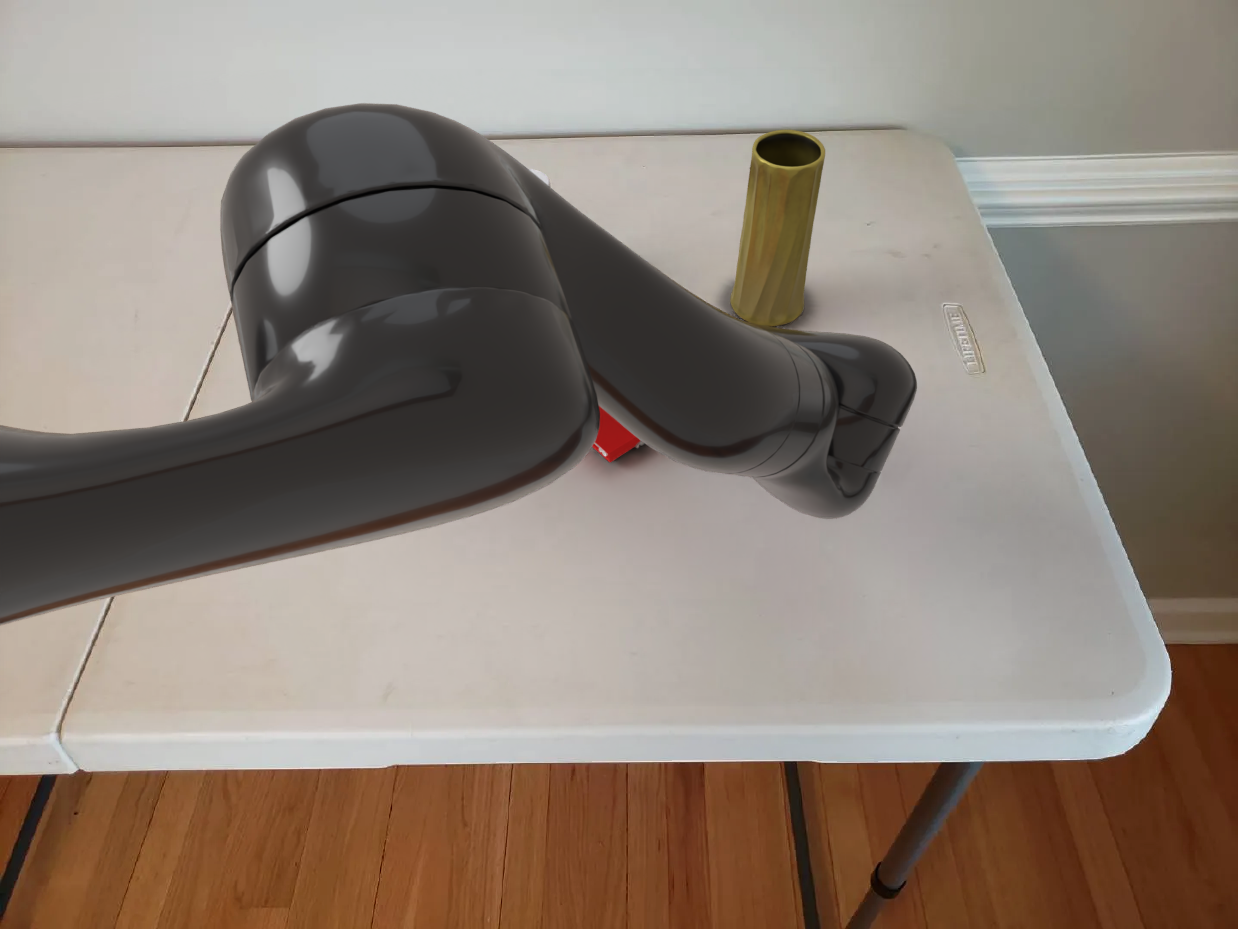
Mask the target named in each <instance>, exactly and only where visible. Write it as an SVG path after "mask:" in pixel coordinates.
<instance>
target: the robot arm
mask: <svg viewBox="0 0 1238 929" xmlns="http://www.w3.org/2000/svg"><path fill="white" fill-rule="evenodd" d="M529 169H530V168H528V167H526V166H525V165H524V164H523V163H521V162H520V161H519V160H517V159H516V158H515V157H513V156H512V155H511V154H510V153H508V152H507V151H505V150H504V149H503V148H502V147H500V146H499V145H497V144H496V143H494V142H493V141H491V140H490V139H488V138H487V137H486V136H484V135H483V134H481V133H479V132H477V131H476V130H474V129H472V128H471V127H469V126H467V125H466V124H463V123H461V122H459V121H457V120H454V119H452V118H449V117H446V116H444V115H441V114H438V113H436V112H434V111H429V110H425V109H420V108H416V107H411V106H406V105H402V104H397V103H374V102H373V103H372V102H371V103H370V102H368V103H367V102H361V103H353V104H345V105H338V106H333V107H326V108H325V107H324V108H322V109H319V110H316V111H313V112H310V113H307V114H304V115H301V116H298V117H294V119H291V120H290V121H287V122H286V123H284V124H282V125H281V126H279V127H277V128H275V129H274V130H272V131H270V132H269V133H267V134H266V135H265V136H263V137H262V138H261V139H260V140H259V141H258V142H257V143H255V144H254V145H253V146H252V147H250V149H248V150H247V151H246V152H245V153H244V154H243V155H242V156H241V157H240V158H239V160H238V161H237V162H236V164H235V166H234V167H233V169H232V170H231V172H230V175H229V176H228V179H227V182H226V185H225V188H224V191H223V194H222V197H221V199H220V210H219V212H220V218H219V220H220V221H219V222H220V224H219V226H220V227H219V228H220V229H219V230H220V241H221V242H220V245H221V254H222V255H221V256H222V260H223V261H222V262H223V269H224V274H225V280H226V286H227V290H228V295H229V299H230V303H231V309H232V310H231V311H232V315H233V319H234V325H235V329H236V334H237V339H238V343H239V348H240V353H241V359H242V363H243V368H244V372H245V378H246V381H247V388H248V391H249V392H248V393H249V397H250V400H251V402H248V403H246V404H243V405H241V406H236V407H235V408H231V409H228V410H225V411H221V412H218V413H214V414H209V415H204V416H202V417H197V418H192V419H189V420H184V421H183V420H182V421H178V422H172V423H166V424H161V425H160V424H159V425H155V426H148V427H137V428H124V429H123V428H122V429H113V430H112V429H111V430H101V431H100V430H99V431H90V432H77V433H63V432H48V431H47V432H46V431H39V430H32V429H25V428H20V427H14V426H8V425H3V424H0V627H2V626H4V625H8V624H12V623H15V622H20V621H22V620H27V619H31V618H34V617H37V616H41V615H45V614H50V613H53V612H56V611H61V610H65V609H69V608H73V607H77V606H81V605H85V604H89V603H92V602H97V601H101V600H105V599H109V598H113V597H117V596H123V595H127V594H131V593H136V592H139V591H144V590H145V591H146V590H150V589H153V588H158V587H163V586H168V585H172V584H176V583H182V582H187V581H190V580H191V581H192V580H195V579H201V578H205V577H209V576H213V575H219V574H223V573H228V572H233V571H237V570H242V569H246V568H247V569H248V568H252V567H256V566H261V565H265V564H271V563H275V562H279V561H284V560H289V559H293V558H299V557H303V556H304V557H305V556H309V555H313V554H317V553H322V552H326V551H331V550H337V549H341V548H346V547H350V546H356V545H361V544H365V543H370V542H373V541H378V540H382V539H383V540H384V539H386V538H391V537H396V536H400V535H404V534H408V533H412V532H418V531H421V530H425V529H426V530H427V529H430V528H433V527H438V526H441V525H445V524H449V523H452V522H455V521H459V520H462V519H466V518H470V517H472V516H476V515H479V514H482V513H485V512H488V511H491V510H494V509H497V508H500V507H502V506H506V505H509V504H511V503H513V502H516V501H518V500H520V499H522V498H524V497H526V496H529V495H531V494H533V493H535V492H537V491H540V490H541V489H543V488H545V487H547V486H550V485H551V484H552V483H555V482H556V481H557V480H559V479H560V478H561V477H563V476H564V475H566V474H567V473H569V472H570V471H572V470H573V469H574V468H575V467H576V466H577V465H578V464H579V463H580V462H581V461H582V460H583V459H584V458H585V457H586V456H587V455H588V454H589V452H590V450H591V449H592V448H593V447H592V446H593V444H594V442H595V441H596V438H597V435H598V431H599V427H600V410H599V406H600V407H601V408H602V409H603V410H605V411H606V412H607V413H608V414H609V415H610V416H612V417H613V418H614V419H615V420H616V421H617V422H619V423H620V424H621V425H622V426H623V427H625V428H626V429H627V430H628V431H630V432H631V433H632V434H633V435H634V436H636V437H637V438H638V439H639V440H641V441H642V442H643V443H645V444H644V445H646V446H648V447H649V448H650V449H652V450H654V451H656V452H658V453H659V454H661V455H663V456H665V457H666V458H668V459H669V460H672V461H673V462H676V463H679V464H681V465H683V466H686V467H689V468H692V469H695V470H699V471H704V472H708V473H715V474H723V475H731V476H737V477H747V478H751V479H753V480H754V481H755V482H756V483H757V484H758V486H760V487H761V488H762V489H764V490H765V491H766V492H767V493H768V494H770V496H772V497H773V498H775V499H776V500H777V501H779V502H781V503H782V504H784V505H785V506H787V507H789V508H790V509H792V510H795V511H796V512H799V513H801V514H803V515H807V516H808V517H812V518H815V519H816V518H818V519H822V520H835V519H836V520H837V519H842V518H844V517H847V516H850V515H851V514H853V513H854V512H856V511H858V510H859V509H860V508H861V507H862V506H863V505H864V504H865V503H866V502H867V501H868V499H869V498H870V496H871V495H872V492H873V491H874V490H875V487H876V485H877V483H878V481H879V478H880V476H881V474H882V471H883V469H884V467H885V465H886V462H887V460H888V459H889V456H890V453H891V451H892V449H893V447H894V444H895V442H896V441H897V438H898V436H899V434H900V431H901V429H900V428H902V427H903V425H904V423H905V421H906V419H907V417H908V414H909V412H910V410H911V408H912V406H913V403H914V402H915V397H916V394H917V391H918V381H917V376H916V374H915V371H914V368H913V367H912V366H911V363H910V362H909V360H907V358H905V356H904V354H902V353H901V352H899V351H898V350H897V349H896V348H895V347H893V346H892V345H890V344H888V343H886V342H884V341H882V340H879V339H877V338H874V337H871V336H866V335H860V334H853V333H845V332H833V331H817V330H801V329H792V328H790V329H789V328H783V327H782V328H780V327H776V326H772V327H769V326H762V325H757V324H753V323H749V322H747V321H745V320H743V319H741V318H739V317H738V318H737V317H735V316H733V315H731V314H730V313H727V312H725V311H723V310H722V309H720V308H718V307H716V306H714V305H712V304H710V303H709V302H707V301H705V300H704V299H702V298H701V297H699V296H698V295H696V294H695V293H693V292H692V291H690V290H689V289H687V288H686V287H685V286H683V285H681V284H680V283H678V282H677V281H675V280H674V279H672V278H671V277H669V276H668V275H666V273H664V272H663V271H661V269H658V268H657V267H655V265H653V264H652V263H650V262H648V261H647V260H646V259H645V258H643V257H642V256H641V255H639V254H637V253H636V252H635V251H634V250H632V249H631V248H629V247H628V246H627V245H626V244H625V243H623V242H622V241H621V240H619V239H618V238H617V237H615V236H614V235H612V234H611V233H610V232H608V231H607V230H606V229H604V228H603V227H601V226H600V224H598V223H597V222H595V221H594V220H592V219H591V218H589V217H588V216H587V215H586V214H584V213H583V212H581V211H580V210H579V209H578V208H577V207H575V206H574V205H573V204H571V202H569V201H568V200H567V199H566V198H564V197H563V196H562V195H560V194H559V193H558V192H556V190H554V189H553V188H552V187H551V186H550V187H549V186H548V185H547V184H546V183H545V182H543V181H542V180H541V179H540V178H539V177H537V176H536V175H535V174H534V173H533V172H531V171H530V170H529Z"/></svg>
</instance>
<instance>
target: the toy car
mask: <svg viewBox="0 0 1238 929" xmlns="http://www.w3.org/2000/svg"><path fill="white" fill-rule="evenodd" d="M599 410H600V427H599V431H598V435H597V438H596V441H595V442H594V444H593V446H592V447H591V448H593V449H594V450H595V451H596V452H597V453H598V454H600V455H601V456H602V457H603V458H604V459H605V460H606V461H607V462H608V463H612V462H614V461H615V460H617V459H618V458H619V457H621V456H623V455H625V454H626V453H628V452H629V451H630V450H632V449H634V448H636V449H640V447H643V446H645V445H646V444H645V443H643V442H642V441H641V440H639V439H638V438H637V437H636V436H634V435H633V434H632V433H631V432H630V431H628V430H627V429H626V428H625V427H623V426H622V425H621V424H620V423H619V422H617V421H616V420H615V419H614V418H613V417H612V416H610V415H609V414H608V413H607V412H606V411H605V410H603V409H602V408H601V407H600V406H599Z"/></svg>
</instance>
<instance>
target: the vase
mask: <svg viewBox="0 0 1238 929" xmlns="http://www.w3.org/2000/svg"><path fill="white" fill-rule="evenodd" d="M825 157H826V148H825V146H824V144H823V142H822V141H820V139H818V138H817V137H815V136H814V135H812V134H810V133H808V132H805V131H801V130H795V129H778V130H773V131H769V132H765V133H764V134H761V135H760V136H758V137H757V138H756V139H755V140H754V142H753V145H752V148H751V159H750V165H749V172H748V173H749V174H748V180H747V188H746V196H745V197H746V198H745V205H744V211H743V217H742V218H743V221H742V228H741V233H740V239H739V246H738V256H737V261H736V269H735V270H736V271H735V277H734V278H735V279H734V283H733V288H732V291H731V294H730V297H729V298H730V300H729V301H730V304H731V305H730V306H731V308H732V309H733V311H734V313H735V314H736V315H737V316H738V318H740V319H741V320H743V321H745V322H749V323H753V324H757V325H762V326H769V327H779V326H783V325H787V324H789V323H792V322H793V321H795V320H796V319H798V318H799V317H800V316H801V315H802V313H803V311H804V309H805V288H806V280H807V272H808V271H807V270H808V264H809V256H810V250H811V243H812V236H813V229H814V224H815V223H814V222H815V216H816V211H817V207H818V200H819V193H820V187H821V182H822V181H821V180H822V175H823V170H824V165H825Z"/></svg>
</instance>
